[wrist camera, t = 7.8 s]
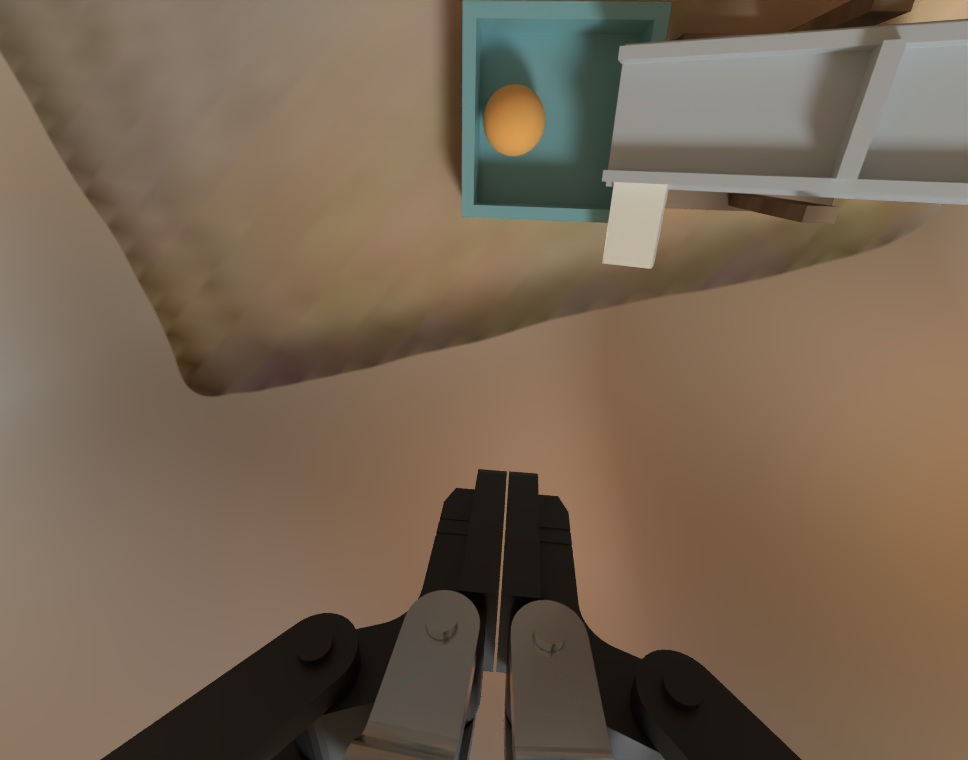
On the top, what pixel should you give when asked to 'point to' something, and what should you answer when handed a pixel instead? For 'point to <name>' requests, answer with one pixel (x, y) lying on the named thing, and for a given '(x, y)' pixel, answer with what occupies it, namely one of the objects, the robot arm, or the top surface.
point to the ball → (514, 120)
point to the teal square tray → (548, 101)
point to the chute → (788, 121)
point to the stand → (866, 8)
